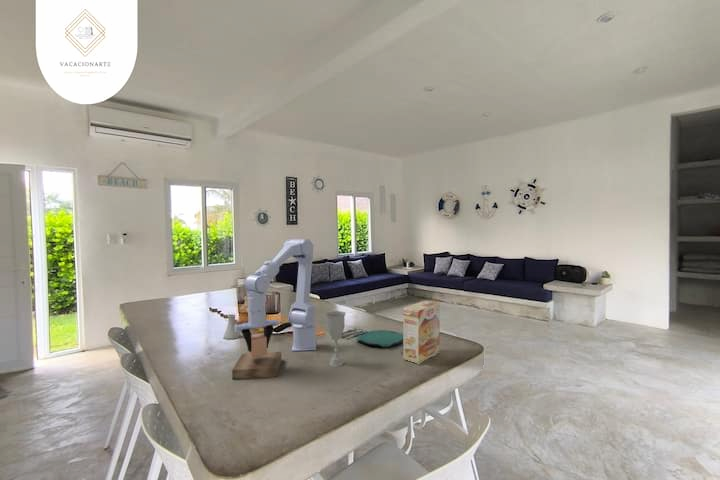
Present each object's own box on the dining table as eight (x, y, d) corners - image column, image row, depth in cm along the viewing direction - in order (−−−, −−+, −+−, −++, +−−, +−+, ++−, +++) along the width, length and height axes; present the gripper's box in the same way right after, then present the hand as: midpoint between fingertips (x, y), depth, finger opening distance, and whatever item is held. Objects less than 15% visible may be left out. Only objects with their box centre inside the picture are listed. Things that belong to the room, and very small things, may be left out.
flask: (235, 340, 150) (234, 317, 150) (220, 339, 152) (219, 316, 151) (243, 335, 157) (243, 313, 157) (229, 334, 159) (228, 312, 158)
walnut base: (281, 360, 127) (281, 352, 127) (276, 376, 113) (276, 367, 113) (242, 362, 126) (242, 354, 126) (232, 379, 112) (232, 370, 112)
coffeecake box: (419, 365, 121) (418, 310, 120) (402, 360, 126) (402, 307, 125) (440, 353, 132) (440, 302, 131) (424, 348, 137) (424, 300, 136)
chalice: (330, 369, 119) (329, 317, 118) (323, 362, 125) (322, 312, 124) (349, 364, 122) (349, 314, 121) (341, 358, 128) (341, 310, 127)
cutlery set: (388, 353, 133) (387, 347, 133) (331, 339, 152) (330, 334, 152) (413, 339, 149) (413, 334, 149) (359, 328, 168) (359, 324, 167)
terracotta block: (263, 350, 123) (262, 333, 123) (267, 354, 119) (266, 337, 118) (248, 352, 121) (248, 335, 120) (252, 357, 116) (251, 339, 116)
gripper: (274, 305, 126) (275, 341, 126) (232, 310, 119) (233, 349, 119) (280, 309, 120) (281, 347, 120) (236, 314, 112) (237, 356, 113)
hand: (257, 349), depth 119 cm, fingers closed on terracotta block, 5 cm apart
